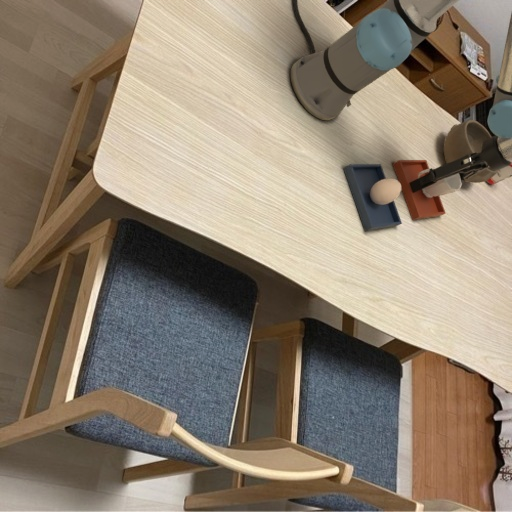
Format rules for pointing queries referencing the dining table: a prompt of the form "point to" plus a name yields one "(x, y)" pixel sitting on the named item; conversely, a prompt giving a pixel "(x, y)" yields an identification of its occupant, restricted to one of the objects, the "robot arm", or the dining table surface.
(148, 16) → the dining table surface
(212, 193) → the dining table surface
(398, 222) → the blue tray
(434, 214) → the terracotta tray
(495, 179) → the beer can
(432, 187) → the cup
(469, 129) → the bowl
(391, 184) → the egg
